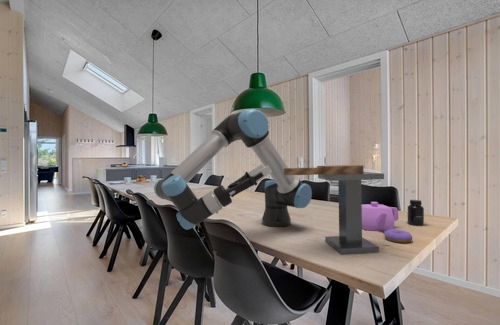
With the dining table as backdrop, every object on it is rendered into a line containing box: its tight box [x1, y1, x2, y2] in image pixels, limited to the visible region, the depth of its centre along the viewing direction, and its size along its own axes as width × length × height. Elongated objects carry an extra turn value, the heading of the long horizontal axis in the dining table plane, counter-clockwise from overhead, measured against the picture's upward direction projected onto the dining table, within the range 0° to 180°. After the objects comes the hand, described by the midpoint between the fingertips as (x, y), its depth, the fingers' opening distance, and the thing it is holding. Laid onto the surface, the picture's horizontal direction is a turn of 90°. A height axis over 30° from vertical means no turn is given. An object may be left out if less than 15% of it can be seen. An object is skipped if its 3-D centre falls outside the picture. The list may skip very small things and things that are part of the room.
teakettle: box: [362, 201, 400, 232], centre depth 121 cm, size 17×17×12 cm
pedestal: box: [317, 171, 385, 255], centre depth 95 cm, size 20×14×28 cm
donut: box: [383, 228, 413, 244], centre depth 102 cm, size 10×9×5 cm
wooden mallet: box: [284, 164, 365, 176], centre depth 94 cm, size 28×9×3 cm, turn 96°
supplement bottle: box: [407, 199, 425, 227], centre depth 125 cm, size 7×7×12 cm
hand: (266, 167), depth 92 cm, fingers open, 13 cm apart
